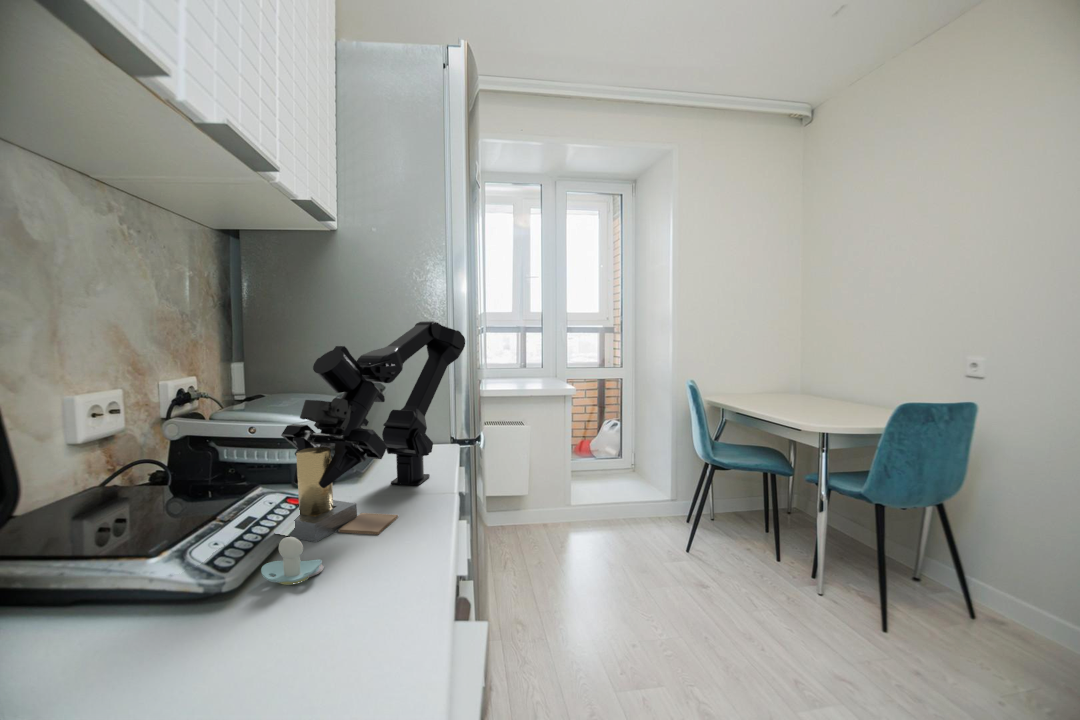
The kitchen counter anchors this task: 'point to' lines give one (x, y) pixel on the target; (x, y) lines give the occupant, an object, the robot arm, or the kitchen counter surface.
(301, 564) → the pacifier
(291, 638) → the kitchen counter surface
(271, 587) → the kitchen counter surface
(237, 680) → the kitchen counter surface
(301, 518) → the housing
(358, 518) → the mat
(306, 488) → the gold metal cylinder
